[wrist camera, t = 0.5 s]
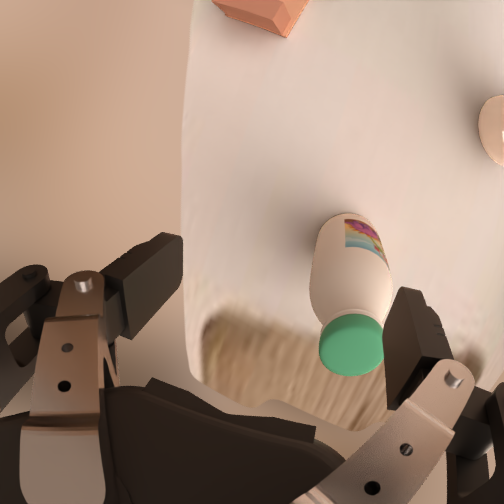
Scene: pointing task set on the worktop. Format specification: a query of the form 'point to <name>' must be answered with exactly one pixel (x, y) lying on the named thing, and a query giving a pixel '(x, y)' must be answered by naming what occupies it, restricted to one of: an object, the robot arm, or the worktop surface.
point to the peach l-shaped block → (265, 13)
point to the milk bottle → (350, 294)
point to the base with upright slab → (493, 128)
